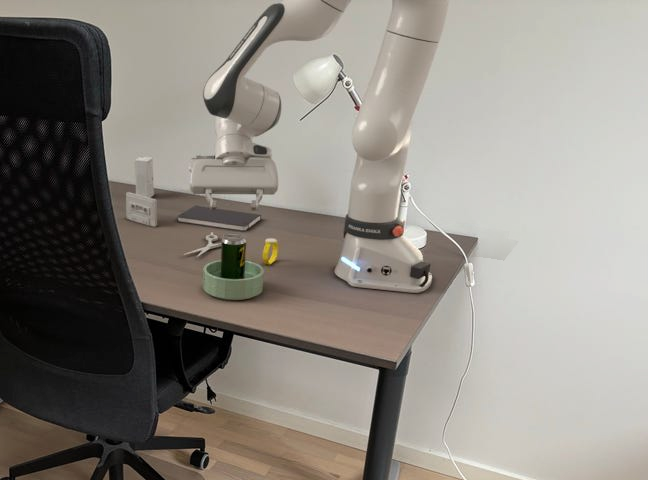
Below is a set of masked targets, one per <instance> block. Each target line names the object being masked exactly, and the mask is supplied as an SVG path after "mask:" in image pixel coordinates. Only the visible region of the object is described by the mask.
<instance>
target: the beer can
mask: <svg viewBox="0 0 648 480" xmlns="http://www.w3.org/2000/svg"><path fill="white" fill-rule="evenodd" d="M221 243H222V246H220V249H221V251H220V260H221V278H224V279H244V278H245V261H246V256H247V255H246V253H247V239H246V235H244V233H239V232H230V233H229V232H228V233H224V234H223V235H222V239H221Z"/></svg>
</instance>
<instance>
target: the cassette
mask: <svg viewBox="0 0 648 480" xmlns="http://www.w3.org/2000/svg"><path fill="white" fill-rule="evenodd" d="M141 207H142V208H141ZM125 211H126V212H125V213H126V219H127V220H130V221H133V222H136V223H138V224H143V225H146V226H150V227H154V228H155V227H157V226H158V199H156V198H152V197H151V198H149V197H145V196H141V195H138V194H136V193H134V192H130V191H127V192H125Z"/></svg>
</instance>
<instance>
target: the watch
mask: <svg viewBox="0 0 648 480" xmlns="http://www.w3.org/2000/svg"><path fill="white" fill-rule="evenodd" d="M264 243H265V245H264V246H263V251H262V262H263V263H264V264H265V265H267V266H271V265H272V264H273V263H274V262H276V260H277V258H278V253H279V243H278V240H277V239H276V238H272V237H271V238H270V237H269V238H266V239H265V241H264ZM271 247H272V252H271V256H270V258H269V253H270V249H271Z"/></svg>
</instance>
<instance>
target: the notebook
mask: <svg viewBox="0 0 648 480" xmlns="http://www.w3.org/2000/svg"><path fill="white" fill-rule="evenodd" d="M261 220H262V214H258V213H251V212H243V211H237V210H231V209H223V208H216V210H210V207H208V206H200V205H193V206H192V207H190V208H188V209H187V210H185V211H183V212H182V213H180V214H178V215H177V222H179V223H184V224H191V225H198V226H203V227H204V226H205V227H213V228H218V229H225V230H232V231H239V232H246V231H248V230H249V229H250V228H252V227H254V225H256V224H257V223H259V222H260V221H261Z"/></svg>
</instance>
